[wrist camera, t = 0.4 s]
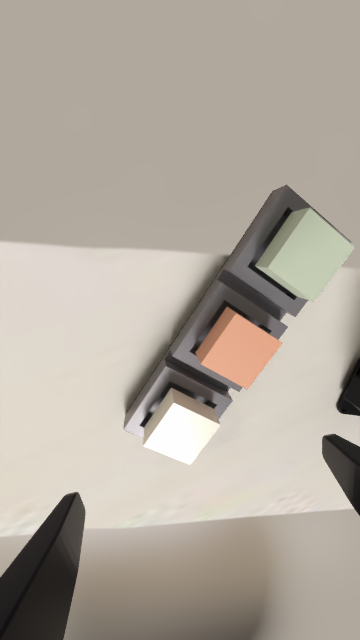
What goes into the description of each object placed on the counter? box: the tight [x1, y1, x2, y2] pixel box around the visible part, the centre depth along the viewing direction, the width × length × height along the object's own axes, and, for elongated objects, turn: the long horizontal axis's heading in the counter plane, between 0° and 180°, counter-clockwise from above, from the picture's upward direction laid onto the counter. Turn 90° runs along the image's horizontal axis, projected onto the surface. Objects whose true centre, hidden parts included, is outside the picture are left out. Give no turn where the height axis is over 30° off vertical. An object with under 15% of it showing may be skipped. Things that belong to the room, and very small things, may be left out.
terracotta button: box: [195, 307, 282, 389], centre depth 18 cm, size 4×4×2 cm
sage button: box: [255, 208, 355, 302], centre depth 17 cm, size 4×4×2 cm
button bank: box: [123, 185, 351, 438], centre depth 21 cm, size 23×7×2 cm, turn 147°
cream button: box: [144, 388, 220, 465], centre depth 20 cm, size 4×4×2 cm
